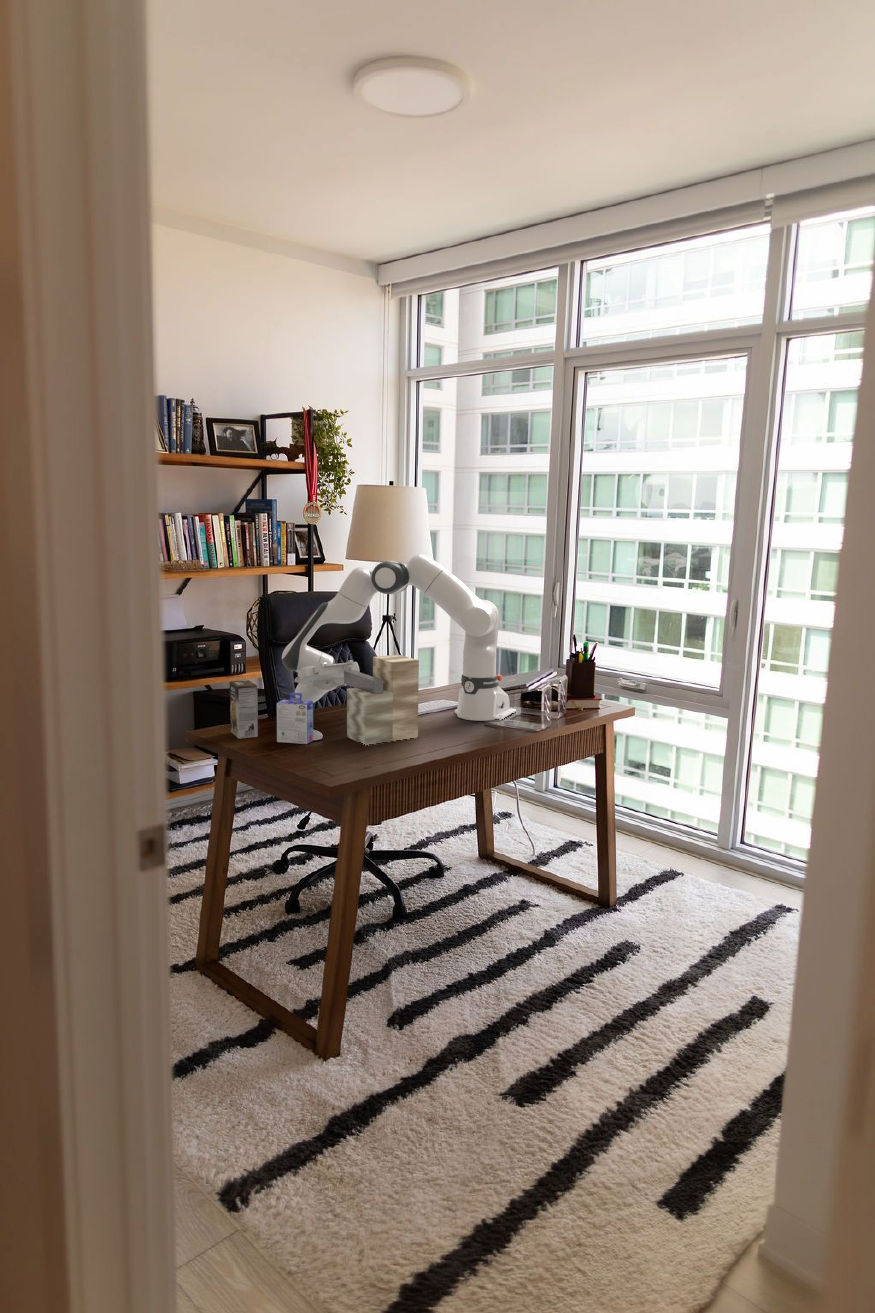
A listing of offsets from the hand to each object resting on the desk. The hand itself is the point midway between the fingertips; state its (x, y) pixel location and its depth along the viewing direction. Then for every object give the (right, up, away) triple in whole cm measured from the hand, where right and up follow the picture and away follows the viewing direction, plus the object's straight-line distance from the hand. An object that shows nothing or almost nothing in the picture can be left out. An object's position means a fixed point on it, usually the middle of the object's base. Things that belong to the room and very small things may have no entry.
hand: (338, 663), depth 283 cm
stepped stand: (+15, -22, -11) cm, 29 cm away
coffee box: (-28, -22, -10) cm, 37 cm away
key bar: (+9, -7, -13) cm, 17 cm away
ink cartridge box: (-11, -23, -17) cm, 31 cm away
